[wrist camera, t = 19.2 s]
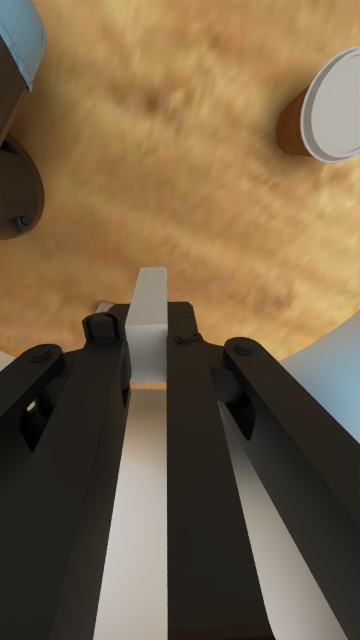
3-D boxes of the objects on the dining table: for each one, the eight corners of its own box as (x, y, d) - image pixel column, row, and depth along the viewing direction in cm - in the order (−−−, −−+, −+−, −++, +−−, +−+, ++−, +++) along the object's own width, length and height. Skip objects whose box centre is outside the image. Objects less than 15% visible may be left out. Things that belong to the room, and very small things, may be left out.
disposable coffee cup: (273, 81, 33) (323, 36, 22) (342, 84, 33) (422, 43, 23) (259, 165, 38) (296, 161, 27) (320, 168, 38) (379, 164, 28)
